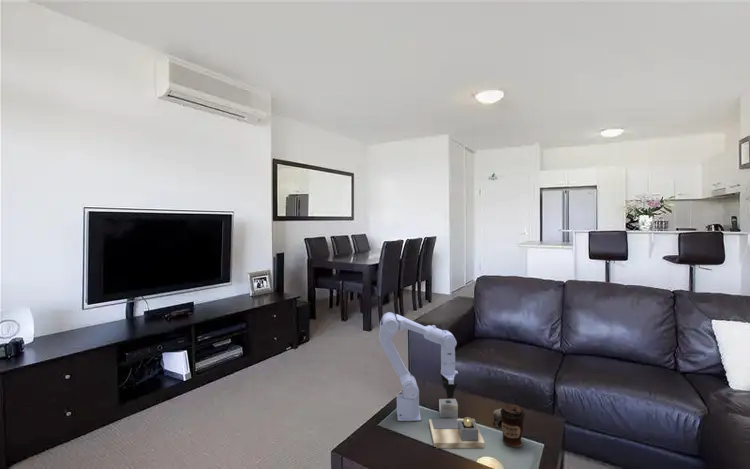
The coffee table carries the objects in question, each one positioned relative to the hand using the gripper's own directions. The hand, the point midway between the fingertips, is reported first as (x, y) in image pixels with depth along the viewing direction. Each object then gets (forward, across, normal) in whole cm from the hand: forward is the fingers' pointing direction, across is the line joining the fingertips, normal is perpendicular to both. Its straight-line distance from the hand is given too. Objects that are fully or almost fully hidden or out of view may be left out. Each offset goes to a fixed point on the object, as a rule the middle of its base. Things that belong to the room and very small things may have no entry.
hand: (448, 393), depth 153 cm
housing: (+9, 0, 0) cm, 9 cm away
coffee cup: (+9, -19, -20) cm, 29 cm away
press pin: (+5, -18, -4) cm, 19 cm away
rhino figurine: (+10, -5, -22) cm, 24 cm away
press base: (+9, -14, 0) cm, 17 cm away
